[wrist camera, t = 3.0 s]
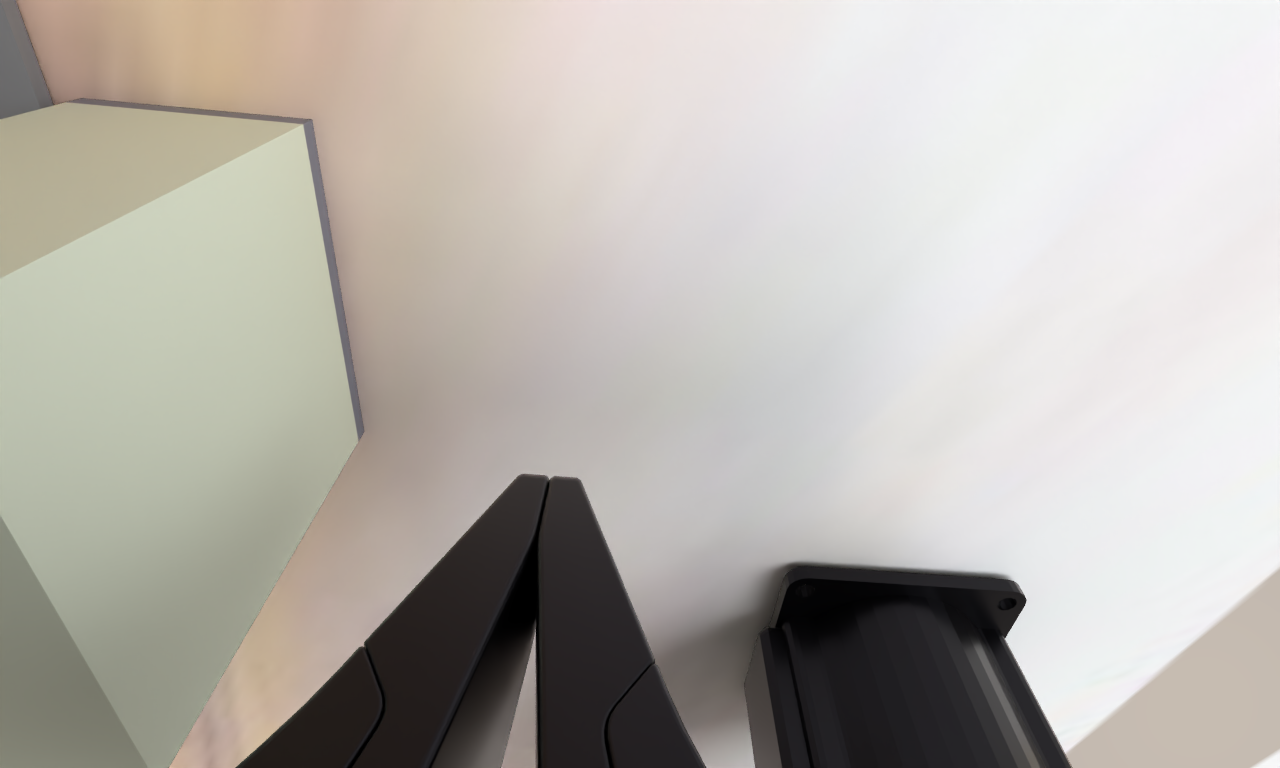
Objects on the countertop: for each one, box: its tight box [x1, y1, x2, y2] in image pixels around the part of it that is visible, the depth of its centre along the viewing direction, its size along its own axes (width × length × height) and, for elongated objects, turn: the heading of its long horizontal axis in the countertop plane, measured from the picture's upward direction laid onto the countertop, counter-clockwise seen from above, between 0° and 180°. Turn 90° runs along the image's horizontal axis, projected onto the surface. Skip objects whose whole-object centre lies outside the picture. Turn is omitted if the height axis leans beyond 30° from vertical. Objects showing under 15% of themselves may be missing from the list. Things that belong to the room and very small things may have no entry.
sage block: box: [0, 98, 364, 768], centre depth 10 cm, size 4×7×8 cm, turn 175°
